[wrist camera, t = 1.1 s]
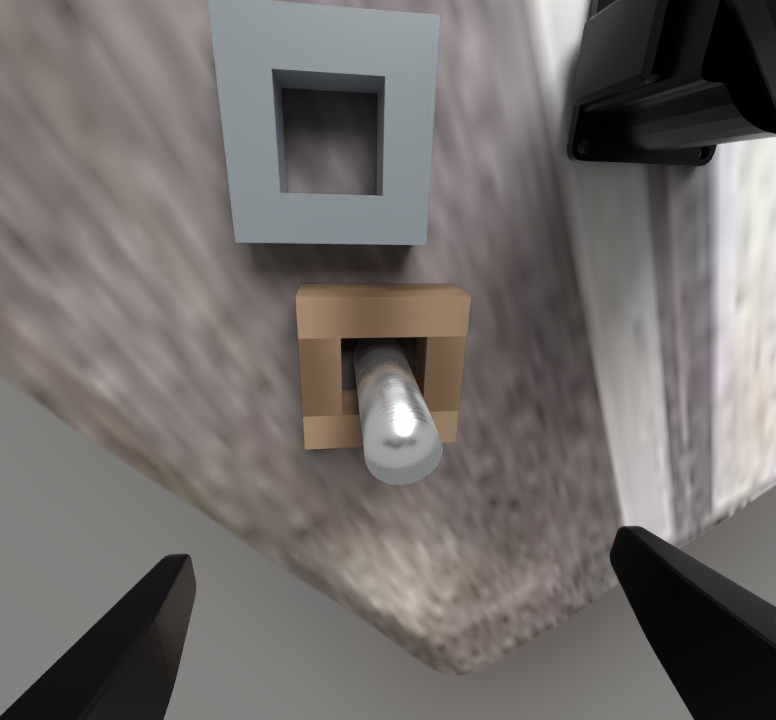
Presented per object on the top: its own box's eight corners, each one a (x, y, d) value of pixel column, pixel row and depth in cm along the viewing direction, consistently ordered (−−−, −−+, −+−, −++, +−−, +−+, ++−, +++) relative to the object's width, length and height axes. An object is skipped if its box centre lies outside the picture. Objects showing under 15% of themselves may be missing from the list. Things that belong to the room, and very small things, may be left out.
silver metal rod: (403, 331, 19) (445, 417, 12) (401, 377, 20) (439, 482, 13) (353, 332, 19) (364, 420, 12) (353, 378, 20) (364, 487, 12)
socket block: (454, 283, 19) (471, 296, 16) (442, 415, 21) (455, 442, 19) (300, 283, 18) (295, 297, 15) (308, 420, 20) (304, 449, 18)
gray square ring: (424, 42, 15) (440, 15, 13) (414, 238, 18) (426, 245, 15) (227, 27, 14) (206, -5, 12) (249, 235, 17) (235, 242, 14)
